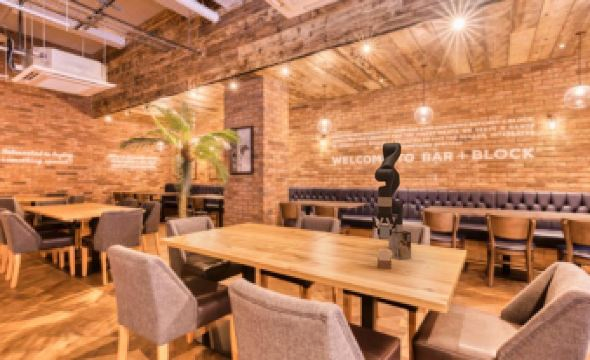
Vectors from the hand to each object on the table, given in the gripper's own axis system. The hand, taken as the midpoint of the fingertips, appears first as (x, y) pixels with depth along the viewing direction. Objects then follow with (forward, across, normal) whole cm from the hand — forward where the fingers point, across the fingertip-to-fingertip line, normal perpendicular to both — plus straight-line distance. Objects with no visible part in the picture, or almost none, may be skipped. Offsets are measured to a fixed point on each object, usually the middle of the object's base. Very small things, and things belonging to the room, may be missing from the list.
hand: (384, 235), depth 163 cm
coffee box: (+18, -11, -21) cm, 29 cm away
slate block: (+1, 0, 0) cm, 1 cm away
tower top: (+13, 0, 0) cm, 13 cm away
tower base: (+18, 0, 0) cm, 18 cm away
